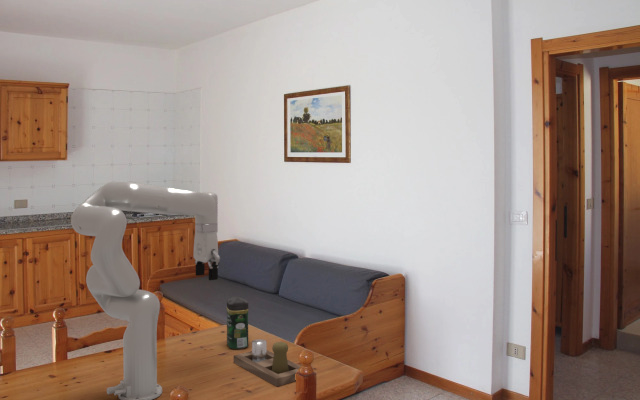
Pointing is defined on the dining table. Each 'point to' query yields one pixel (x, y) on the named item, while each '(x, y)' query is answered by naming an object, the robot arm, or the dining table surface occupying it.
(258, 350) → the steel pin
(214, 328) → the dining table surface
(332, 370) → the dining table surface
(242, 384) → the dining table surface
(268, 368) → the socket board
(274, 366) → the olive brown tall piece
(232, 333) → the coffee jar
